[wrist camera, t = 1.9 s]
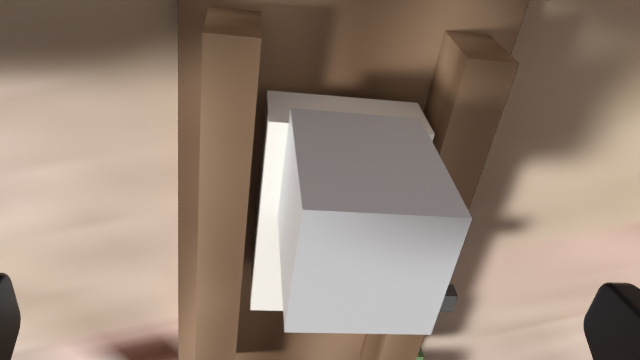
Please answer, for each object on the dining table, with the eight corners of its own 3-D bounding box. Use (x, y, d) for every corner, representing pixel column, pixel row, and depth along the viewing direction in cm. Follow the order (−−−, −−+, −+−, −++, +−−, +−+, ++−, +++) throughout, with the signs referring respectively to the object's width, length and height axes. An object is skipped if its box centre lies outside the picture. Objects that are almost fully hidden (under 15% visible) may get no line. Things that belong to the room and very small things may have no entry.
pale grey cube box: (250, 269, 23) (249, 433, 17) (268, 76, 18) (275, 208, 12) (424, 275, 24) (480, 431, 18) (481, 94, 20) (581, 223, 14)
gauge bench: (180, 389, 29) (170, 477, 25) (181, -75, 17) (161, -39, 13) (388, 389, 31) (407, 471, 27) (524, -32, 19) (592, 11, 15)
